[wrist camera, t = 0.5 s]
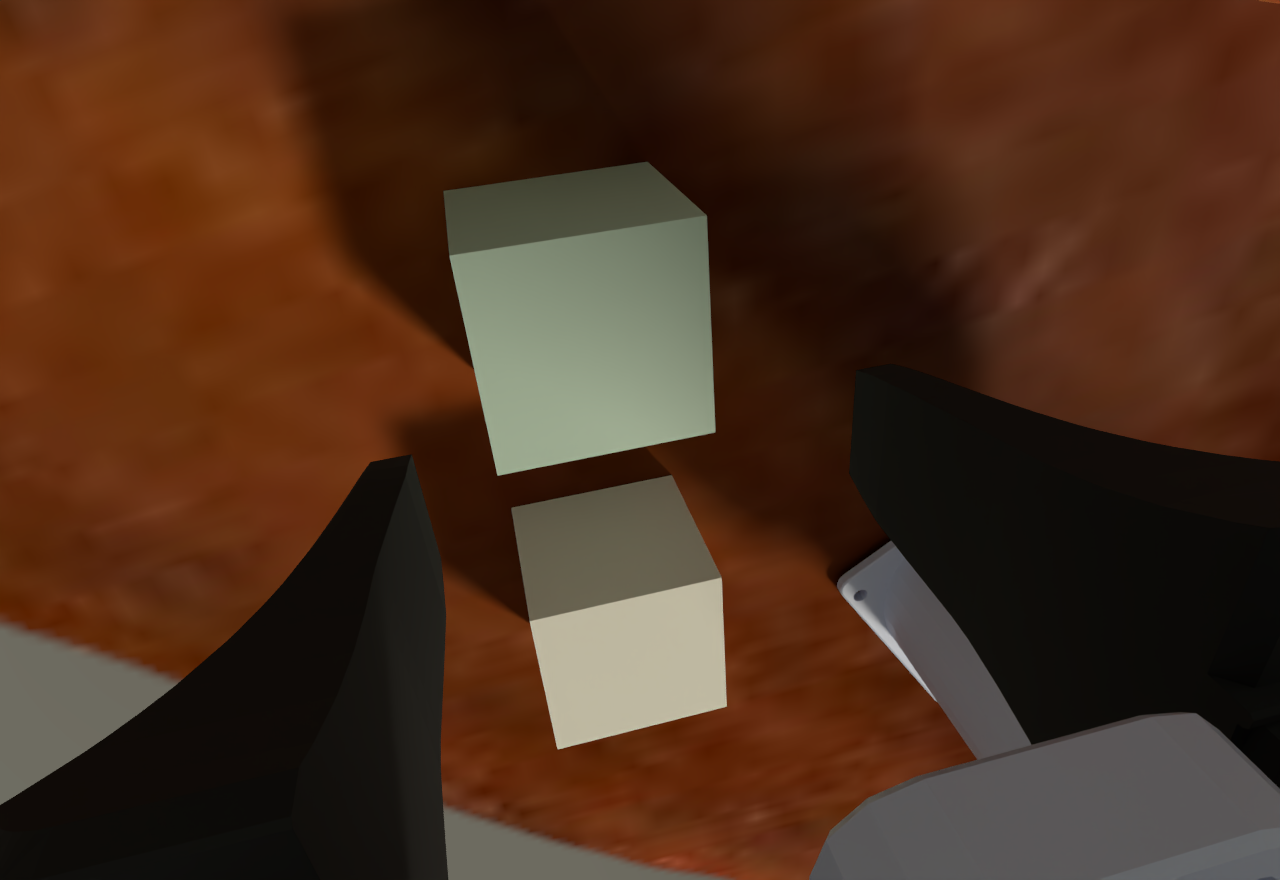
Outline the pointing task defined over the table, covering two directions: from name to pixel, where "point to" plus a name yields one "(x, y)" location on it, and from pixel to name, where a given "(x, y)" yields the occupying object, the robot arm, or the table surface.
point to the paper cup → (1273, 0)
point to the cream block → (621, 609)
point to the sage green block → (584, 312)
